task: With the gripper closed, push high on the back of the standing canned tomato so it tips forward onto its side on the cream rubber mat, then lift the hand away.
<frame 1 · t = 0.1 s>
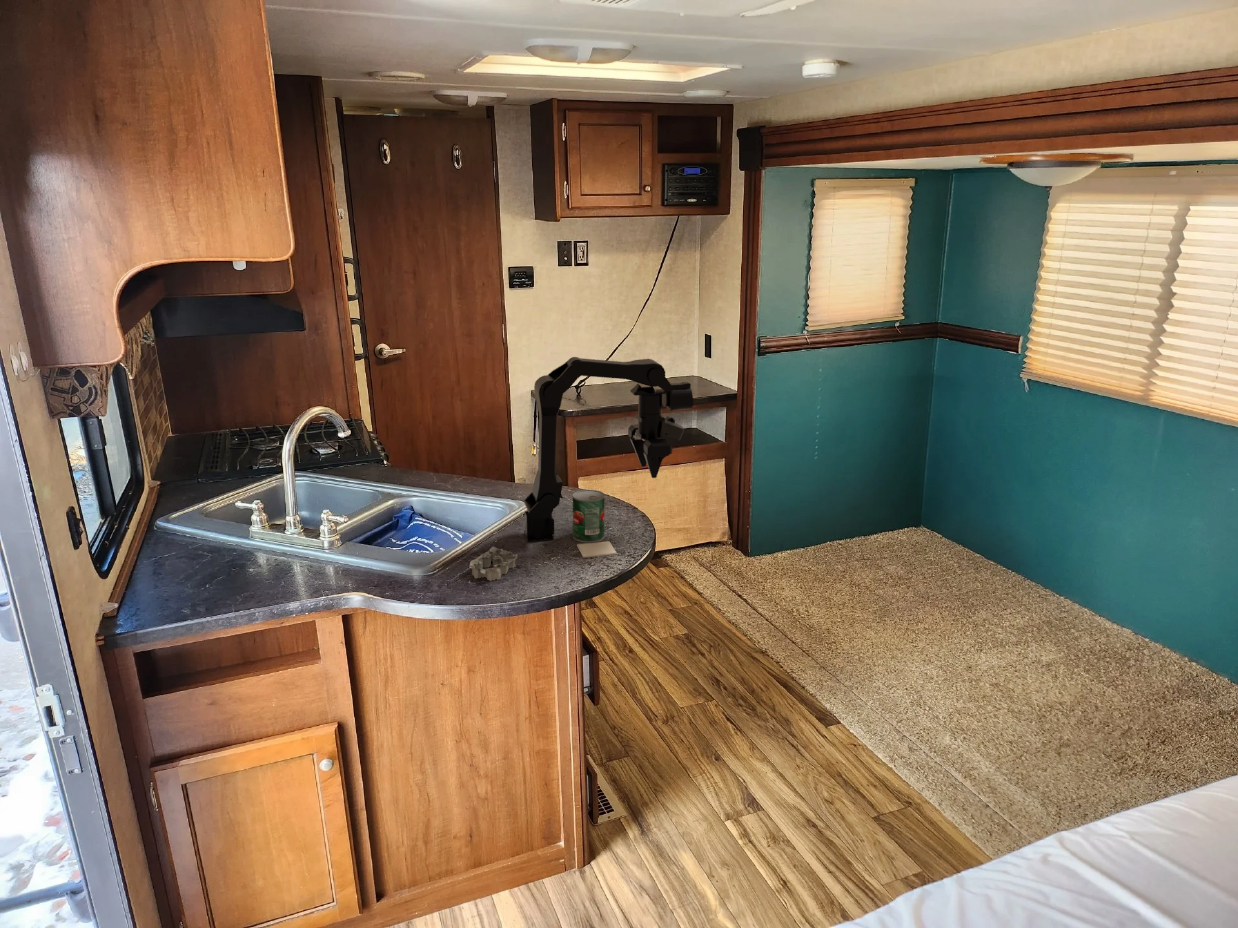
hand: (648, 472, 208), 15 cm above the countertop, tool pointing down, fingers open, 9 cm apart
canned tomato: (588, 537, 206), on the countertop
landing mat: (596, 549, 198), on the countertop
egg carton: (493, 572, 187), on the countertop
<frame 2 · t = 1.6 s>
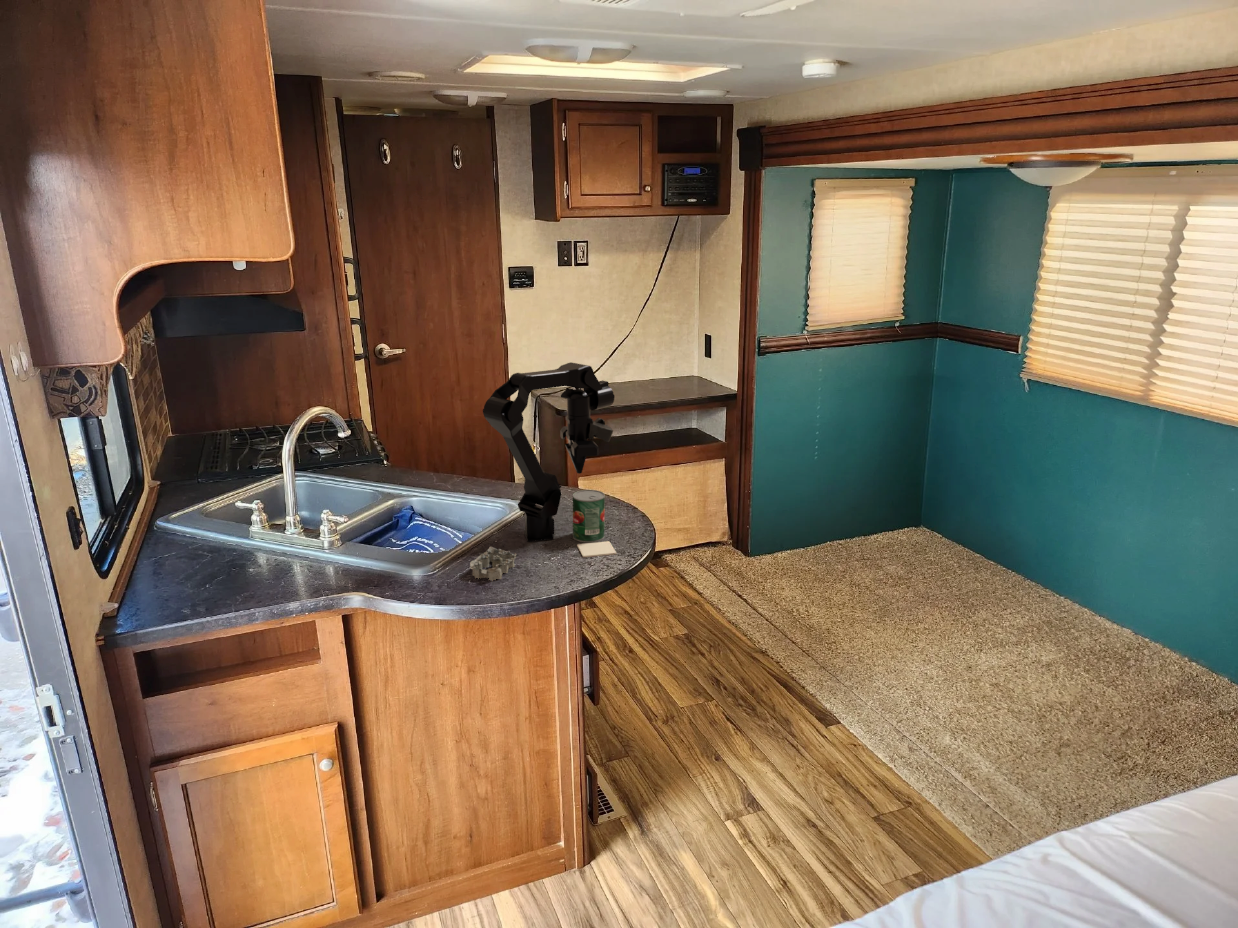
hand: (579, 472, 212), 13 cm above the countertop, tool pointing down, fingers closed
nothing on the countertop moved.
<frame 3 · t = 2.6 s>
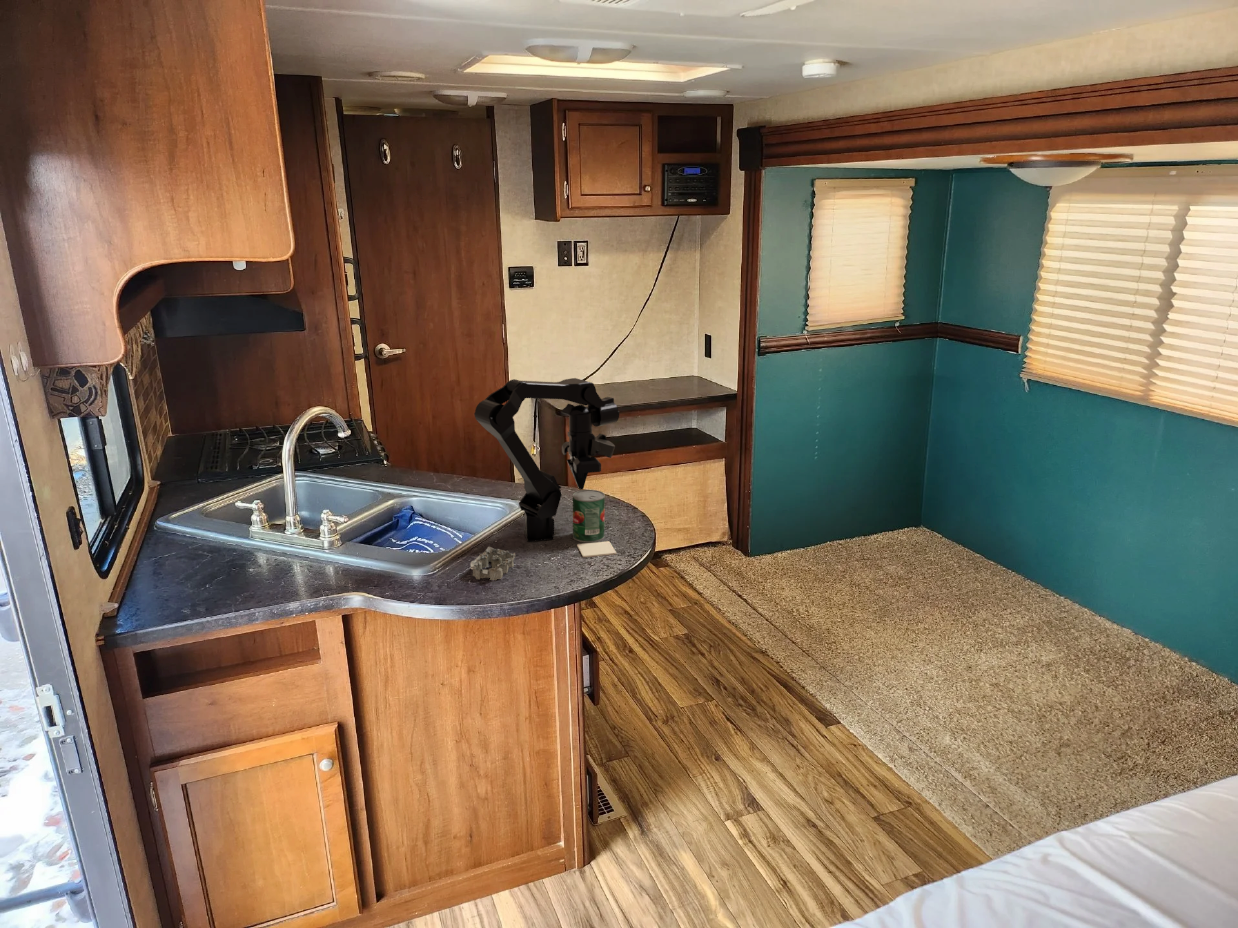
hand: (580, 488, 211), 9 cm above the countertop, tool pointing down, fingers closed
nothing on the countertop moved.
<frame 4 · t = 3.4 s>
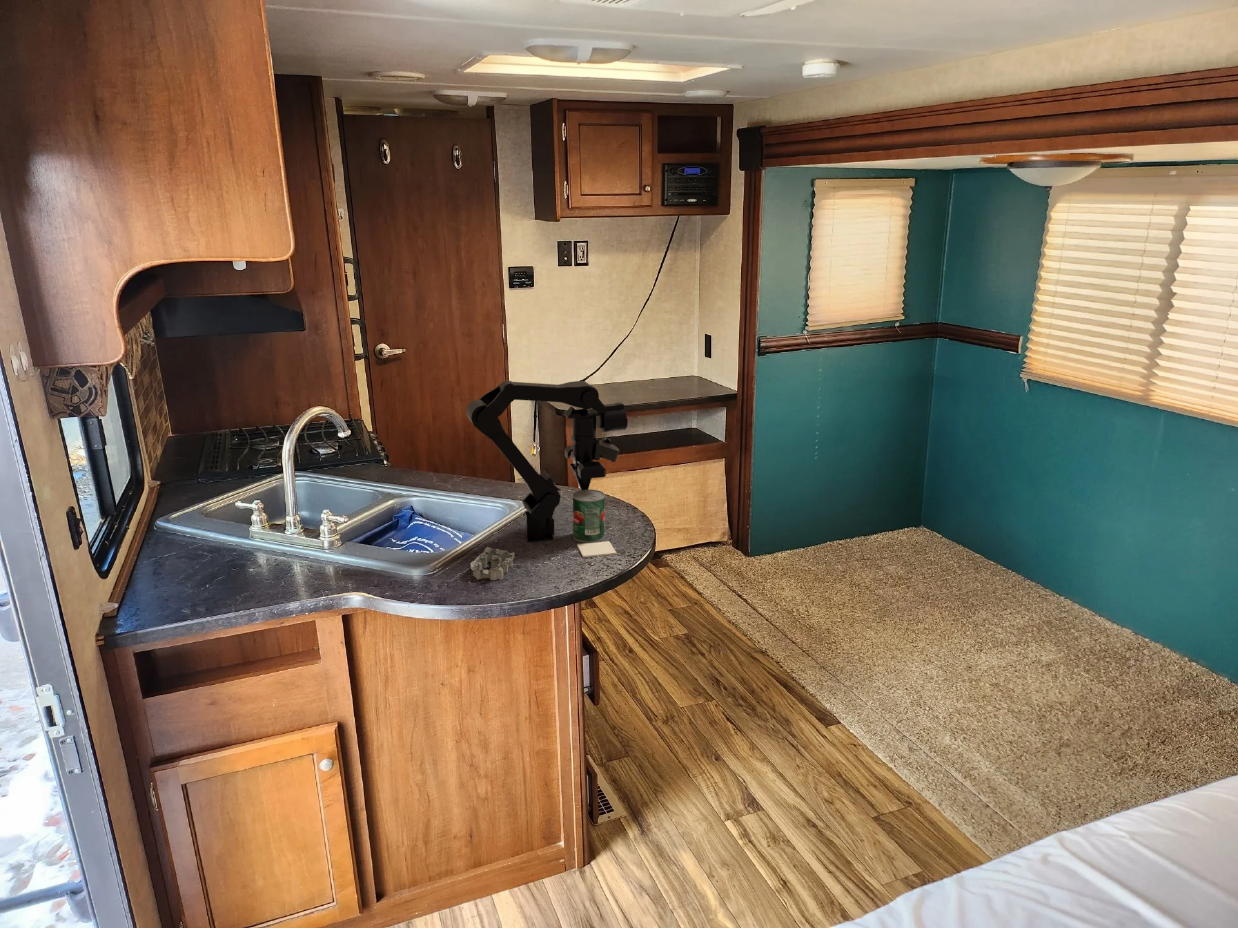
hand: (584, 493, 207), 10 cm above the countertop, tool pointing down, fingers closed
canned tomato: (588, 537, 206), on the countertop, touching gripper
everything else where it was.
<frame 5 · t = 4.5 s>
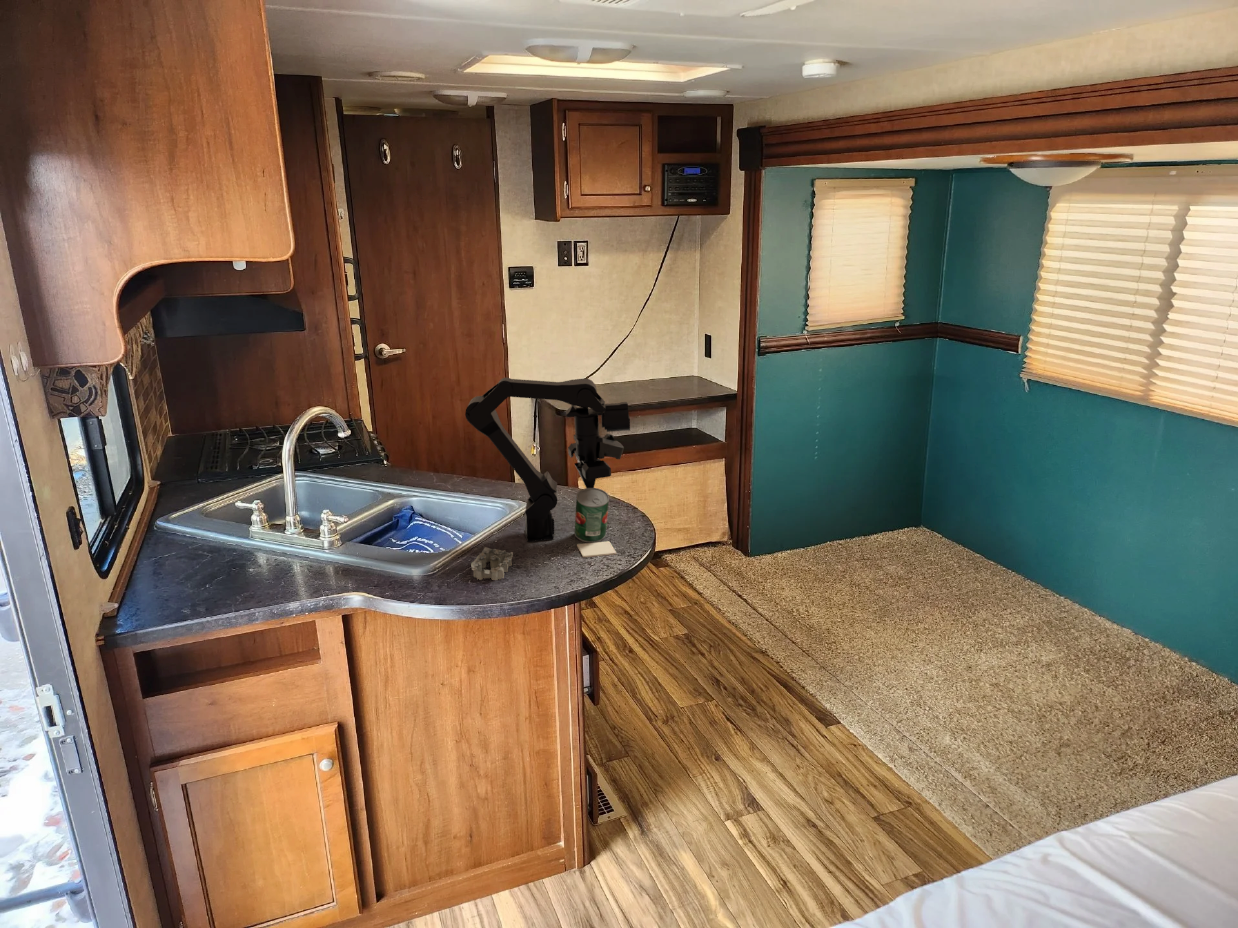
hand: (590, 492, 204), 11 cm above the countertop, tool pointing down, fingers closed, pressing on canned tomato
canned tomato: (590, 533, 206), point 1 cm above the countertop, touching gripper
everything else where it was.
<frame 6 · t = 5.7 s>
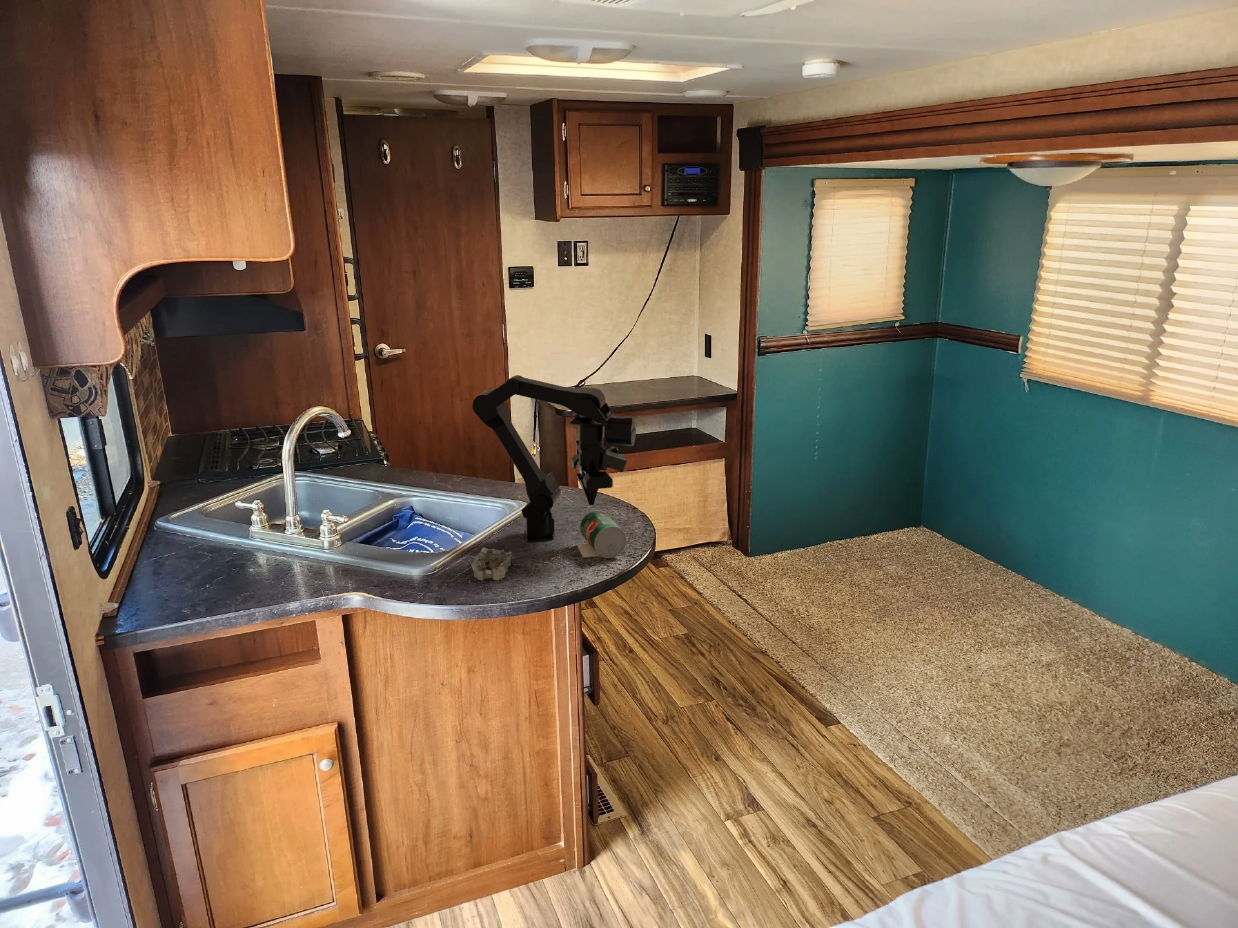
hand: (591, 504, 200), 9 cm above the countertop, tool pointing down, fingers closed
canned tomato: (594, 525, 202), point 4 cm above the countertop, touching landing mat
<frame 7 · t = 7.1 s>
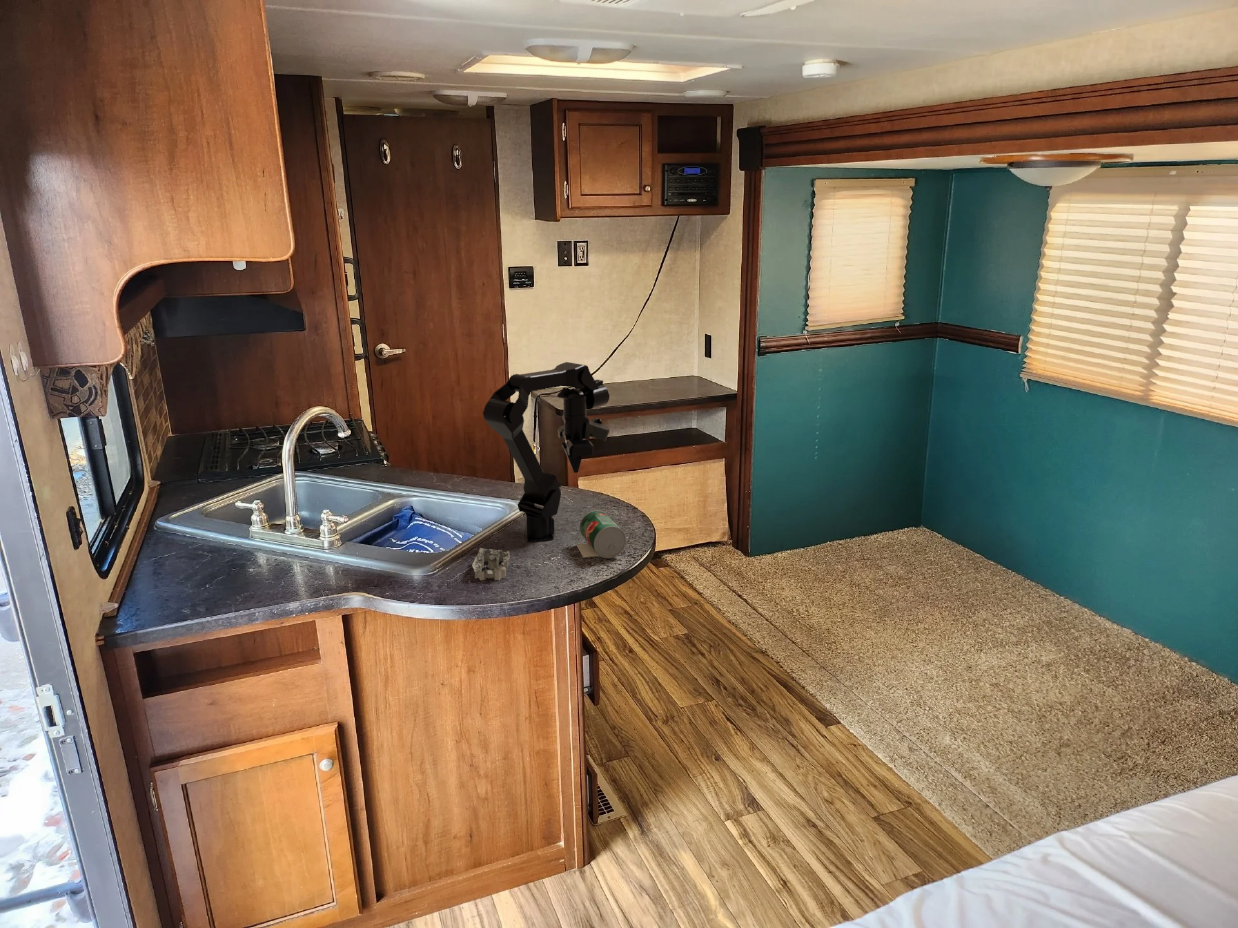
hand: (575, 472, 212), 13 cm above the countertop, tool pointing down, fingers closed
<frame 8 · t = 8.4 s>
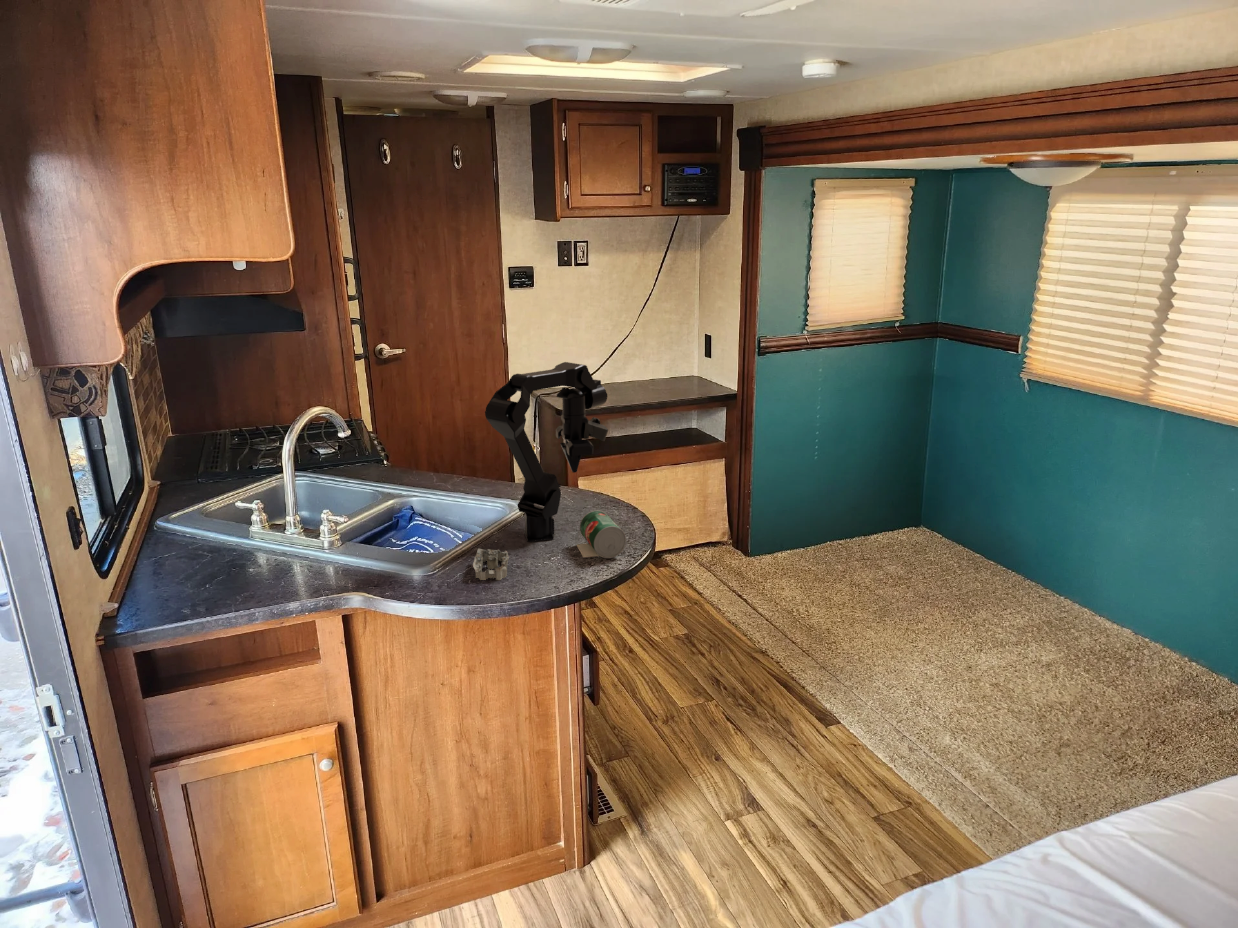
hand: (574, 472, 213), 13 cm above the countertop, tool pointing down, fingers closed
at the end: canned tomato tilted 90°; canned tomato 5.1 cm from the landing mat (horizontally) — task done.
